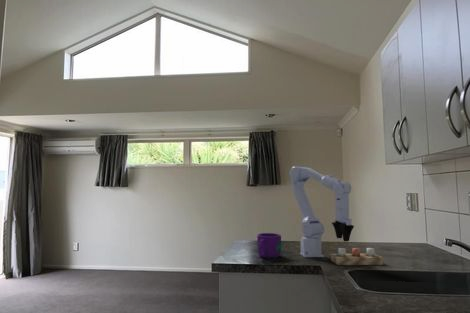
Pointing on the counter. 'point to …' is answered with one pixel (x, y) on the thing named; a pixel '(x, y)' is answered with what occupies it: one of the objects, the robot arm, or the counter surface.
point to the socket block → (357, 260)
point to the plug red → (356, 252)
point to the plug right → (370, 252)
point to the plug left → (341, 252)
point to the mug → (269, 245)
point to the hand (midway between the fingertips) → (342, 239)
